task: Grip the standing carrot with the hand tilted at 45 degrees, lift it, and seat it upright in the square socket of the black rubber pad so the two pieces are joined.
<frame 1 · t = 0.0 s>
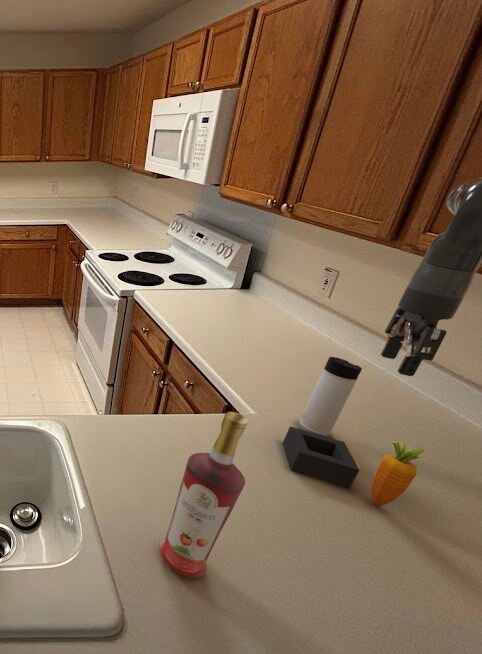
hand: (395, 365, 83), 25 cm above the countertop, tool pointing down, fingers open, 8 cm apart
liquor: (180, 563, 66), on the countertop
travel mug: (312, 431, 103), on the countertop
carrot: (374, 506, 81), on the countertop
socket pad: (313, 464, 91), on the countertop
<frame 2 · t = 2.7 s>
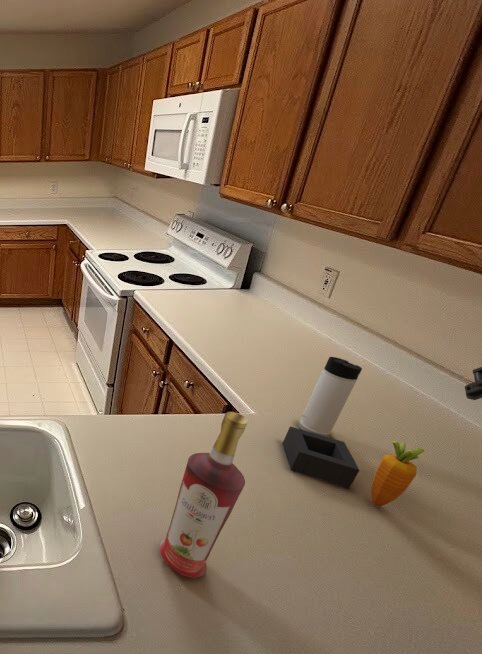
nothing on the countertop moved.
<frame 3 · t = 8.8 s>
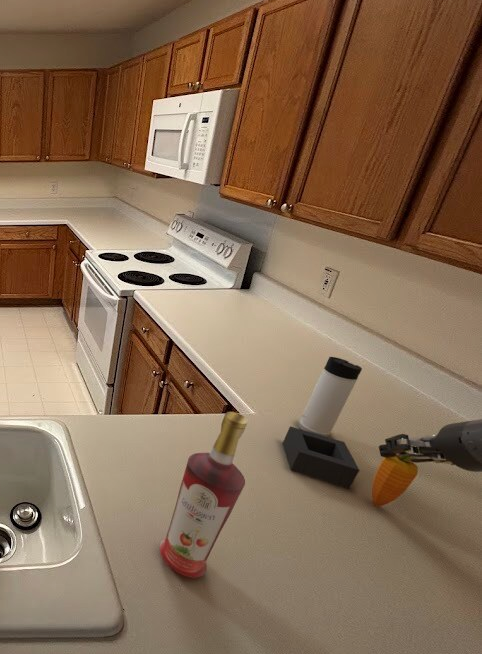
hand: (396, 453, 78), 11 cm above the countertop, tool tilted 45°, fingers closed on carrot, 4 cm apart
carrot: (374, 506, 81), on the countertop, touching gripper
everything else where it was.
when the fingers open (11 cm above the countertop, at t = 17.6 s): carrot stays where it is, resting in socket pad.
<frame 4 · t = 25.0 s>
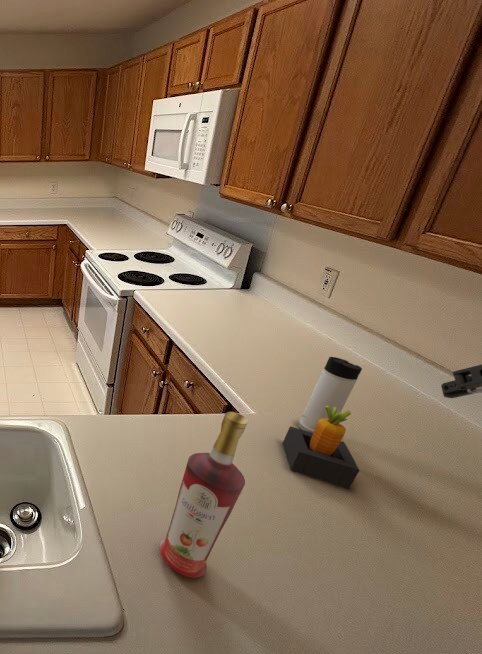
hand: (477, 396, 61), 31 cm above the countertop, tool tilted 45°, fingers open, 8 cm apart
carrot: (312, 465, 91), resting in socket pad
everything else where it was.
at the end: carrot 0.3 cm off-centre in the socket pad, point 0.0 cm above the socket pad's base; carrot tilted 0°; the gripper is holding nothing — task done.
